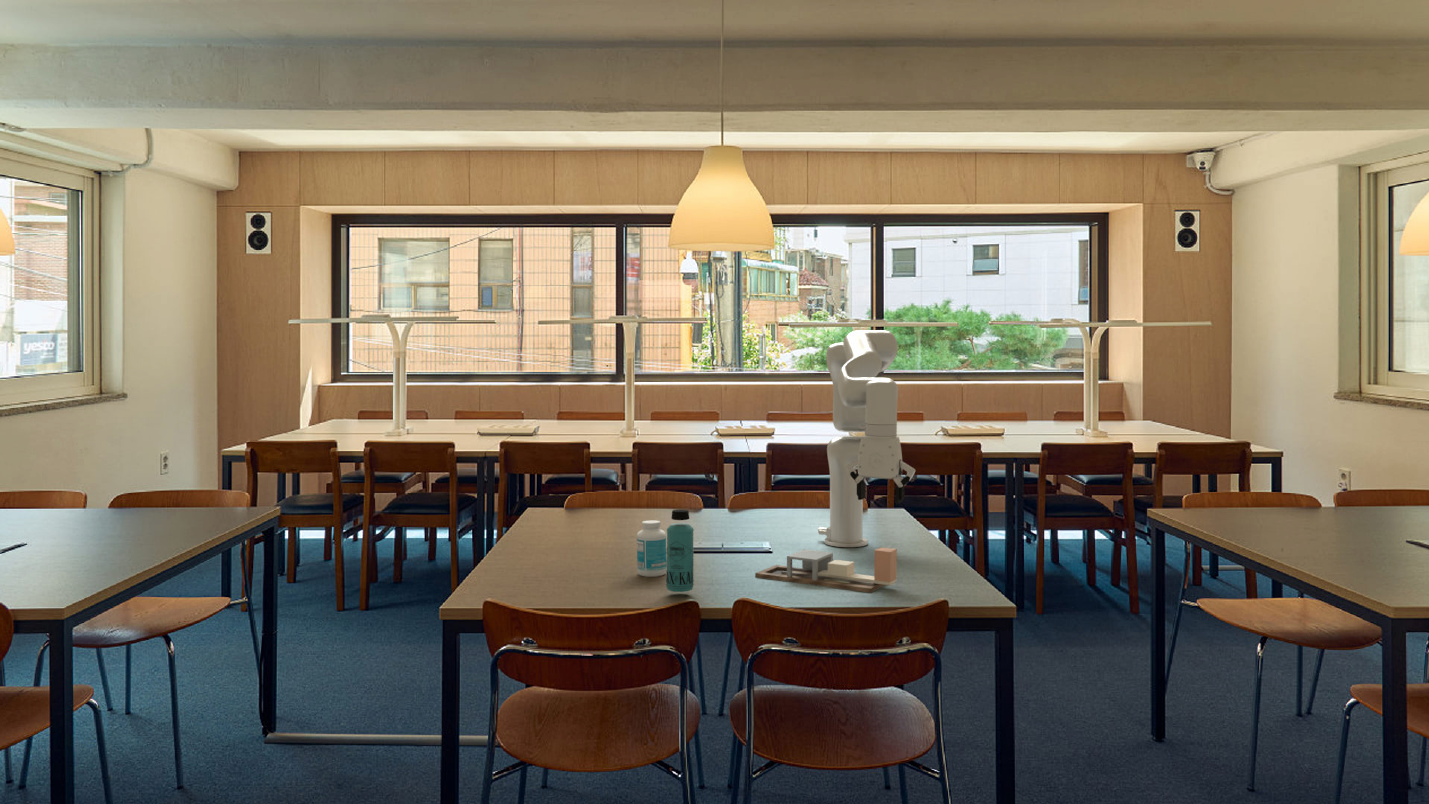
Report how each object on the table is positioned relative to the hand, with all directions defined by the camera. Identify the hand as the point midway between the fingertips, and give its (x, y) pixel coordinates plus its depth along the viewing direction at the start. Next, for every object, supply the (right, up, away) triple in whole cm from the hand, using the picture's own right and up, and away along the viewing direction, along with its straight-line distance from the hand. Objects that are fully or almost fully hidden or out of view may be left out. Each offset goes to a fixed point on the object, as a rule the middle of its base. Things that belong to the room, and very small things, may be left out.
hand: (880, 500), depth 239 cm
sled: (-6, -19, -1) cm, 20 cm away
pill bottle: (-56, -20, +10) cm, 61 cm away
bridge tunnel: (-17, -19, +5) cm, 26 cm away
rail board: (-14, -20, +4) cm, 25 cm away
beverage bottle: (-48, -21, -11) cm, 54 cm away
